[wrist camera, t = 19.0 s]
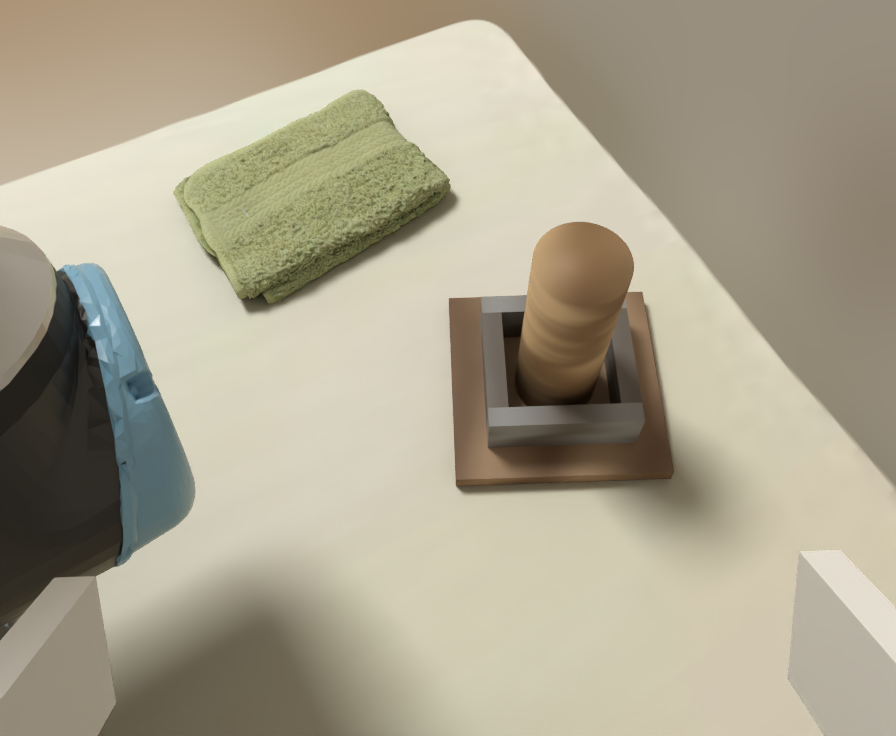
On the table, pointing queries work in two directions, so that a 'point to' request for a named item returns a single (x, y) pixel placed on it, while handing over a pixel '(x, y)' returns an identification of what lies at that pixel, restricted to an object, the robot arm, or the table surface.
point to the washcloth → (309, 196)
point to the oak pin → (571, 313)
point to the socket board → (552, 427)
